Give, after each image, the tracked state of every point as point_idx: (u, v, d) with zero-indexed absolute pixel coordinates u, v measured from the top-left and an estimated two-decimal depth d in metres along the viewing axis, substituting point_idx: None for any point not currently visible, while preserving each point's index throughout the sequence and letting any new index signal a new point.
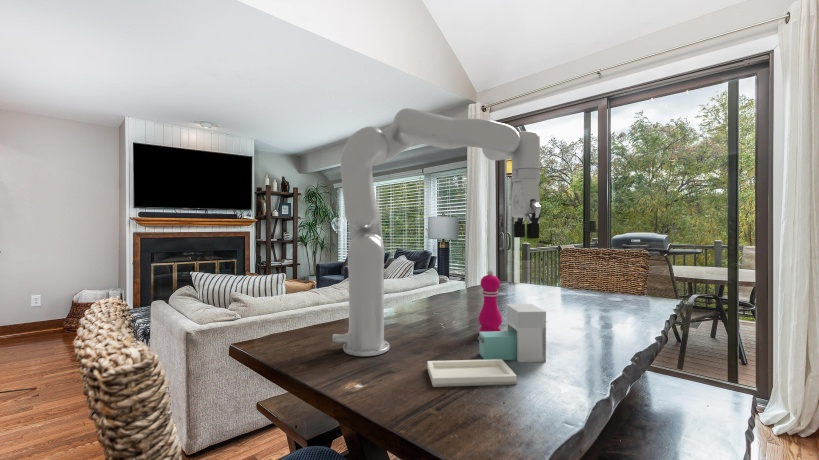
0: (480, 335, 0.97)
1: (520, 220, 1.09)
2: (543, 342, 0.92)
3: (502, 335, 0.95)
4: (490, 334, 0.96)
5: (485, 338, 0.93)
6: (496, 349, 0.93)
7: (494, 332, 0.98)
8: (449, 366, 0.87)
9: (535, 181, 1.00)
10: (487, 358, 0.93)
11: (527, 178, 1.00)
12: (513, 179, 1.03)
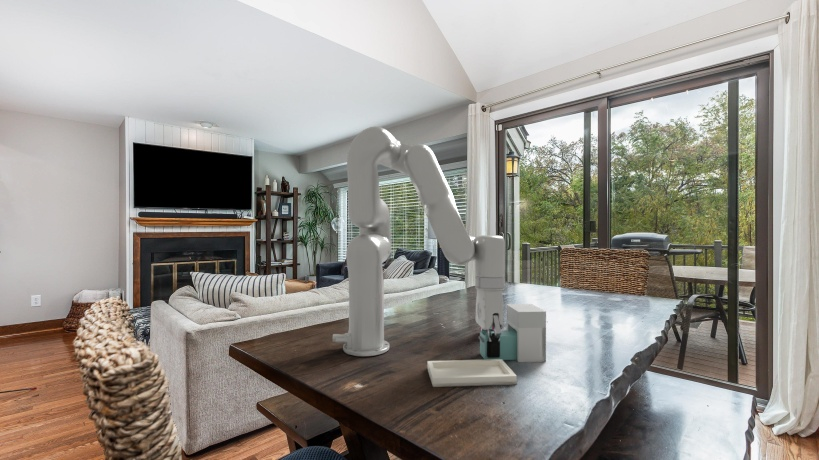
0: (481, 334, 0.97)
1: None
2: (543, 342, 0.92)
3: (502, 334, 0.95)
4: None
5: (486, 337, 0.93)
6: None
7: None
8: (449, 366, 0.87)
9: (498, 293, 0.92)
10: None
11: (490, 289, 0.92)
12: (476, 286, 0.95)
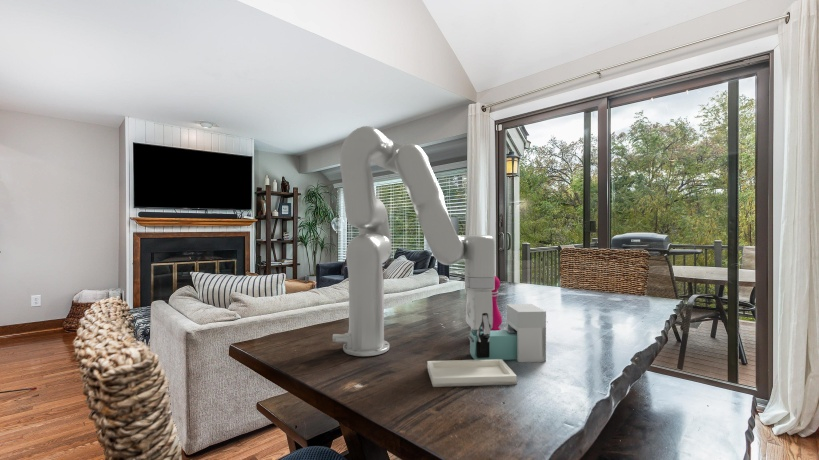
0: (471, 334, 0.97)
1: None
2: (543, 342, 0.92)
3: (492, 334, 0.95)
4: (480, 333, 0.96)
5: (475, 337, 0.93)
6: None
7: None
8: (449, 366, 0.87)
9: (488, 293, 0.91)
10: None
11: (479, 289, 0.92)
12: (466, 286, 0.95)
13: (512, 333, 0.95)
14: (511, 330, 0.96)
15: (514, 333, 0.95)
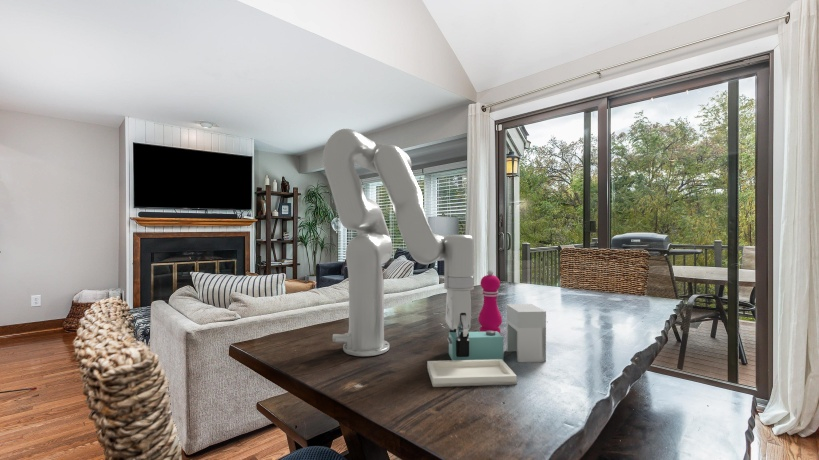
0: (449, 336, 0.97)
1: None
2: (543, 342, 0.92)
3: (470, 335, 0.94)
4: None
5: (453, 339, 0.93)
6: None
7: None
8: (449, 366, 0.87)
9: (466, 292, 0.91)
10: (455, 359, 0.93)
11: (458, 288, 0.92)
12: (445, 286, 0.94)
13: (490, 334, 0.95)
14: (490, 331, 0.96)
15: (492, 334, 0.95)
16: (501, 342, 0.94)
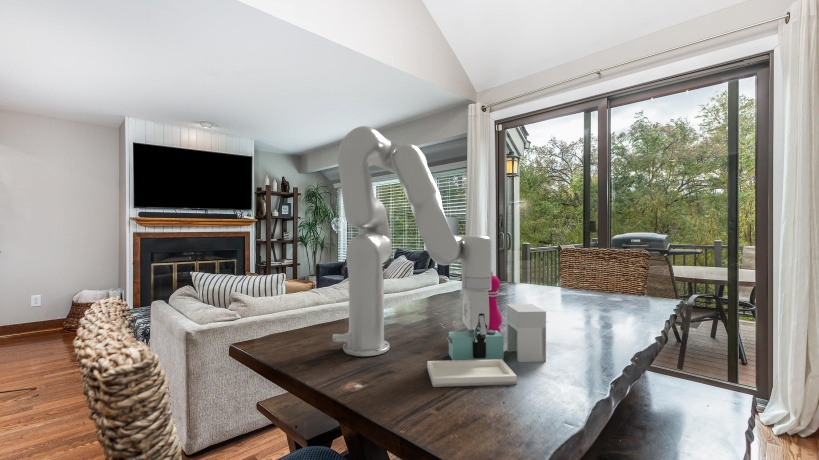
0: (449, 335, 0.96)
1: None
2: (543, 342, 0.92)
3: (471, 335, 0.94)
4: (459, 334, 0.95)
5: (453, 338, 0.93)
6: (464, 349, 0.93)
7: (464, 332, 0.97)
8: (449, 366, 0.87)
9: (484, 293, 0.91)
10: (455, 358, 0.93)
11: (476, 289, 0.92)
12: (462, 286, 0.95)
13: (490, 334, 0.95)
14: (490, 331, 0.96)
15: (492, 334, 0.95)
16: (501, 341, 0.94)
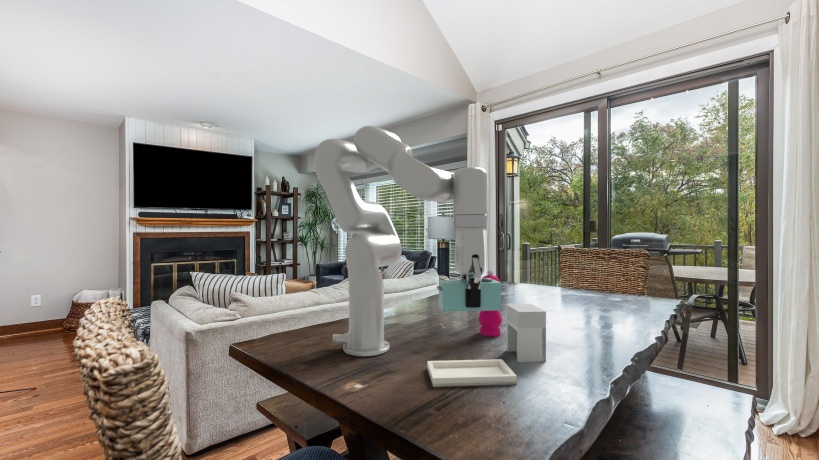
0: (439, 284, 0.84)
1: None
2: (543, 342, 0.92)
3: (463, 282, 0.82)
4: (450, 282, 0.83)
5: (443, 285, 0.80)
6: (456, 298, 0.80)
7: (456, 280, 0.85)
8: (449, 366, 0.87)
9: (479, 231, 0.79)
10: (446, 308, 0.80)
11: (469, 227, 0.79)
12: (454, 227, 0.82)
13: (486, 281, 0.82)
14: (486, 278, 0.84)
15: (489, 281, 0.82)
16: (499, 289, 0.81)
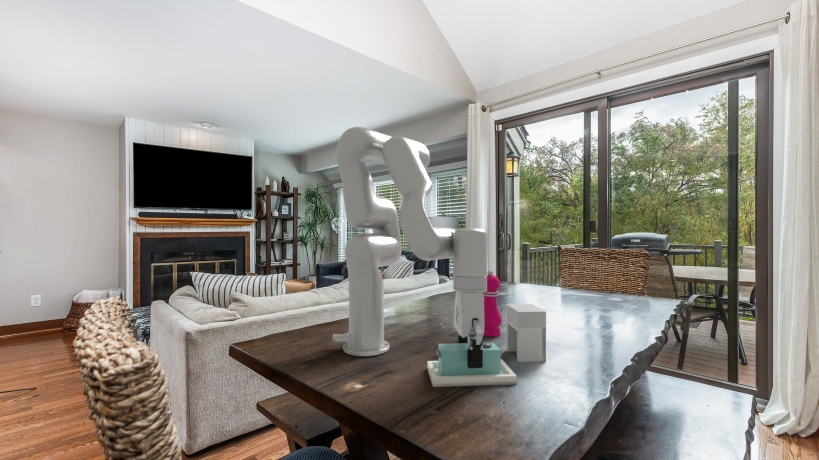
0: (439, 348, 0.84)
1: None
2: (543, 342, 0.92)
3: (463, 348, 0.82)
4: (449, 347, 0.83)
5: (442, 352, 0.81)
6: (455, 365, 0.81)
7: (455, 344, 0.85)
8: None
9: (479, 294, 0.79)
10: (445, 375, 0.81)
11: (469, 290, 0.80)
12: (454, 287, 0.82)
13: (486, 347, 0.82)
14: (485, 343, 0.84)
15: (488, 347, 0.82)
16: (498, 356, 0.81)
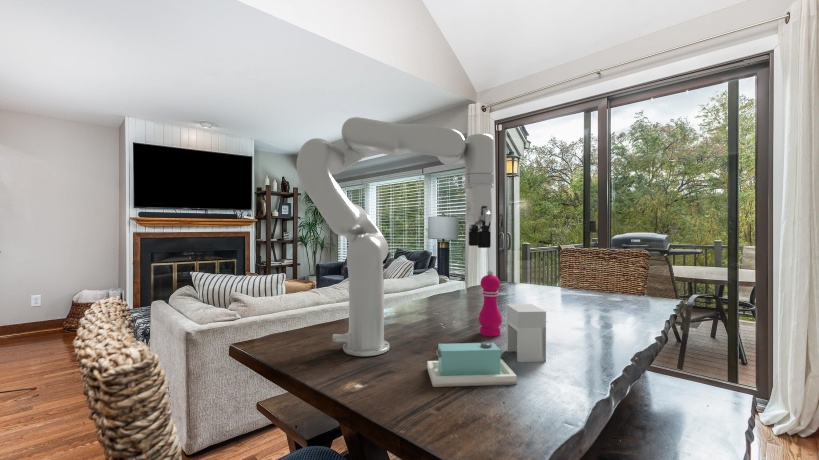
0: (439, 348, 0.84)
1: (475, 227, 1.04)
2: (543, 342, 0.92)
3: (463, 348, 0.82)
4: (449, 347, 0.83)
5: (442, 352, 0.81)
6: (455, 365, 0.81)
7: (455, 344, 0.85)
8: None
9: (487, 187, 0.94)
10: (445, 375, 0.81)
11: (479, 184, 0.95)
12: (465, 184, 0.98)
13: (486, 347, 0.82)
14: (485, 343, 0.84)
15: (488, 347, 0.82)
16: (498, 356, 0.81)
